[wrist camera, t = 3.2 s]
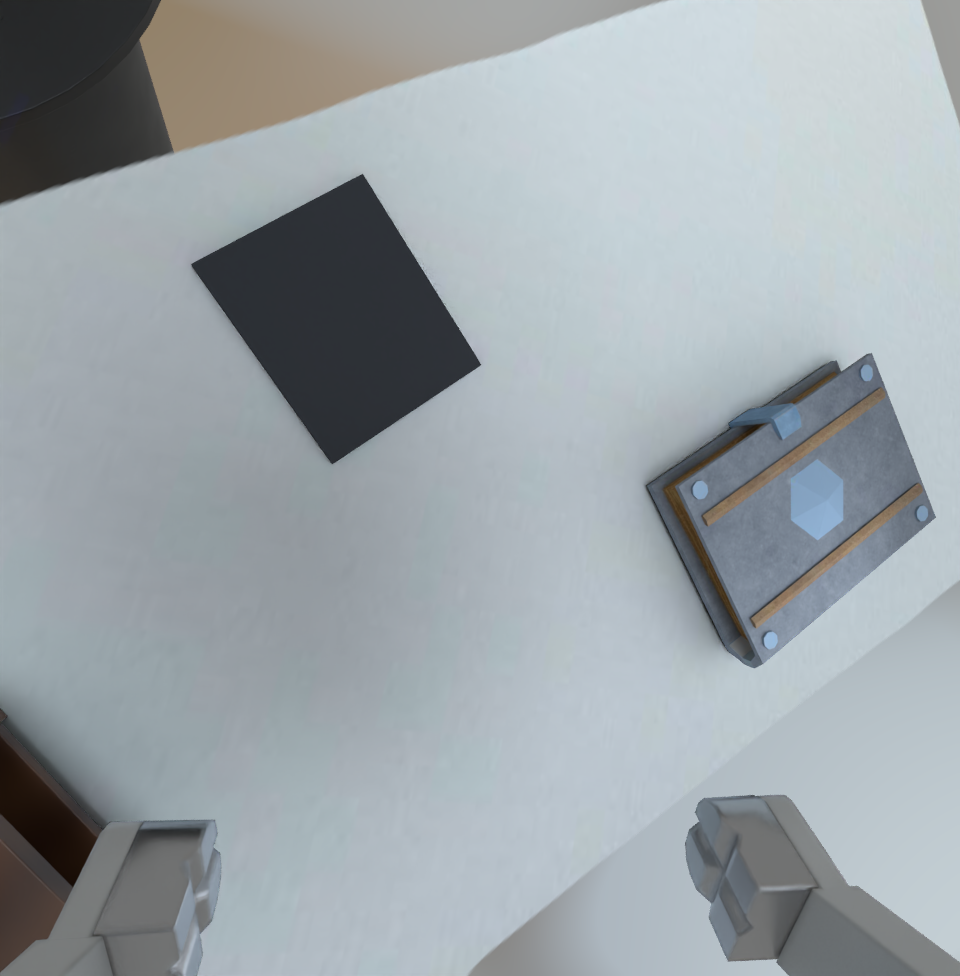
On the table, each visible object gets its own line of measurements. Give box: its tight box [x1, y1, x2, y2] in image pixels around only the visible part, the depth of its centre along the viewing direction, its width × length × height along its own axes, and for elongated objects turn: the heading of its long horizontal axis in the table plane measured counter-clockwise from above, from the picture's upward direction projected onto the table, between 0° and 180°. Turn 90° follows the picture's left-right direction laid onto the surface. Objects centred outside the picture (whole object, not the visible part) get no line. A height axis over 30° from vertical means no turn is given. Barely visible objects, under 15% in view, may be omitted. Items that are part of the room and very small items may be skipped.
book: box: [647, 353, 936, 668], centre depth 47 cm, size 21×16×5 cm
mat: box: [192, 174, 481, 464], centre depth 38 cm, size 14×12×1 cm
